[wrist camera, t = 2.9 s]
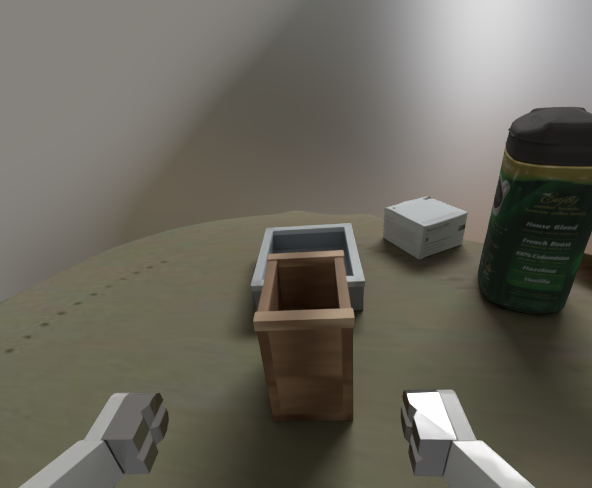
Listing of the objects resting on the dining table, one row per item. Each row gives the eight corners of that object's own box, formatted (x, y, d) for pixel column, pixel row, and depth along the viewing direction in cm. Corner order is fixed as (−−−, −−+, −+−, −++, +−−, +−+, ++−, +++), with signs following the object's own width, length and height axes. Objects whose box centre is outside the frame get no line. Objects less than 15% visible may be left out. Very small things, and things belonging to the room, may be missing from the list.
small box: (419, 261, 43) (423, 226, 41) (381, 238, 50) (383, 206, 47) (463, 245, 46) (469, 211, 43) (422, 225, 52) (425, 194, 50)
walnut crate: (345, 340, 32) (343, 250, 27) (354, 421, 25) (354, 317, 20) (281, 342, 32) (268, 253, 27) (272, 422, 25) (252, 321, 20)
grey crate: (350, 247, 47) (350, 223, 46) (364, 310, 35) (364, 280, 33) (269, 251, 48) (266, 228, 46) (255, 314, 36) (250, 286, 34)
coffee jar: (573, 325, 31) (659, 117, 22) (478, 308, 34) (521, 119, 25) (551, 271, 39) (609, 99, 30) (475, 261, 42) (507, 103, 33)
